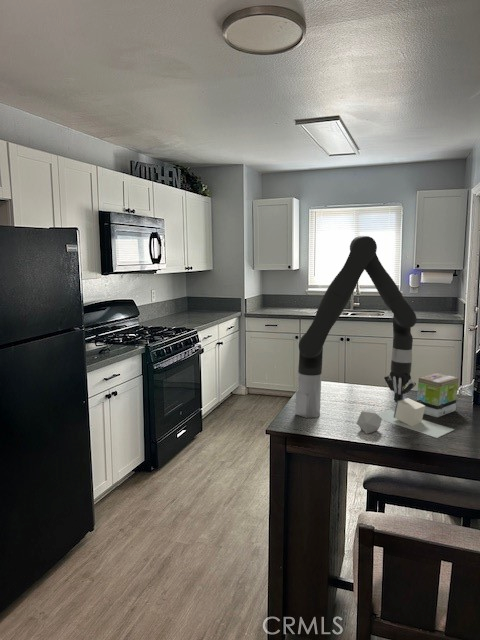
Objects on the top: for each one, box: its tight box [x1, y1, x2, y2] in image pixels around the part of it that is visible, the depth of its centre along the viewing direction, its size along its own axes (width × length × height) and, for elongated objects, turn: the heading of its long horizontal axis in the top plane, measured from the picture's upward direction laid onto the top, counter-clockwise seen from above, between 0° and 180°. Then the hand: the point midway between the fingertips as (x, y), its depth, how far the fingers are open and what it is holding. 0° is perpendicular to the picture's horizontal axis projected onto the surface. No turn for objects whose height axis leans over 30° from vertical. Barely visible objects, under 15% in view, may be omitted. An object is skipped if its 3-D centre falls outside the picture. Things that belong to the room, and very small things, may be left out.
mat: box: [376, 409, 456, 439], centre depth 179 cm, size 13×28×1 cm, turn 39°
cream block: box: [394, 397, 425, 426], centre depth 179 cm, size 7×7×8 cm
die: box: [356, 408, 383, 435], centre depth 170 cm, size 8×9×10 cm
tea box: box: [416, 372, 459, 418], centre depth 192 cm, size 15×10×15 cm
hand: (398, 402), depth 183 cm, fingers closed
